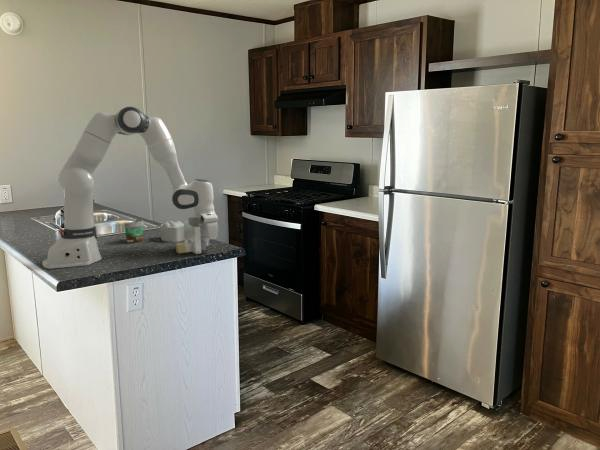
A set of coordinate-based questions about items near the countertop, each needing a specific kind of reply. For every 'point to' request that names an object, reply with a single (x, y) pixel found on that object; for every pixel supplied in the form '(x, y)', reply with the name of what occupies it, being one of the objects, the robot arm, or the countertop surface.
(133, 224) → the food container
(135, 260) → the countertop surface
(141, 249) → the countertop surface
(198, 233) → the motor housing
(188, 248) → the cream rectangular bar
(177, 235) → the lumpy-topped squat cylinder
